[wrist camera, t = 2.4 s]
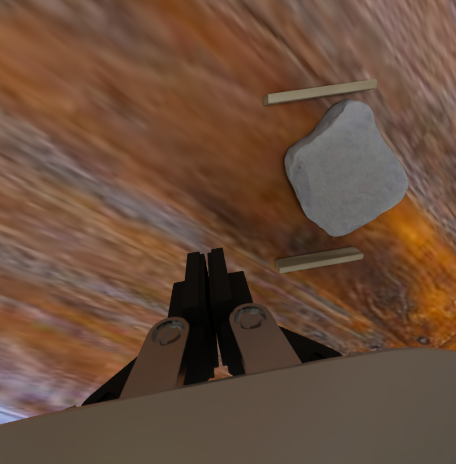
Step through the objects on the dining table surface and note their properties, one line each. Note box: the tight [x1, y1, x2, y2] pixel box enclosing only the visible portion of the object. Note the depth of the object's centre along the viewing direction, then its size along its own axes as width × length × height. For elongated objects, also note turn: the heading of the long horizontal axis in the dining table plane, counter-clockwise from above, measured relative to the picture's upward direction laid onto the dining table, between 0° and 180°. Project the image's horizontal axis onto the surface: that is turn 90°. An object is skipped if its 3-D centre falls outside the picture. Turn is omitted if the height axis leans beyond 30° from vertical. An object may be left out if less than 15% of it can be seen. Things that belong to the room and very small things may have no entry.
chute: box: [263, 79, 377, 273], centre depth 26 cm, size 18×26×3 cm
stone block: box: [285, 99, 409, 237], centre depth 26 cm, size 12×5×10 cm
